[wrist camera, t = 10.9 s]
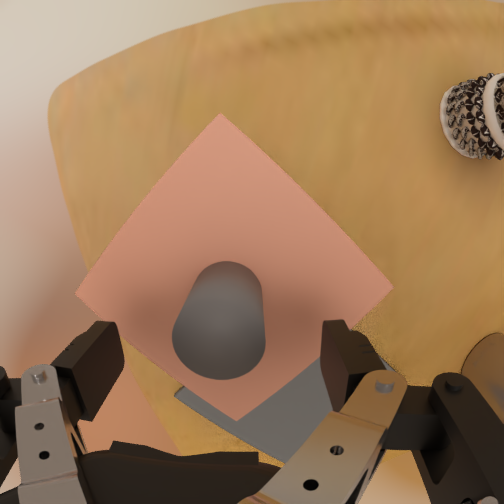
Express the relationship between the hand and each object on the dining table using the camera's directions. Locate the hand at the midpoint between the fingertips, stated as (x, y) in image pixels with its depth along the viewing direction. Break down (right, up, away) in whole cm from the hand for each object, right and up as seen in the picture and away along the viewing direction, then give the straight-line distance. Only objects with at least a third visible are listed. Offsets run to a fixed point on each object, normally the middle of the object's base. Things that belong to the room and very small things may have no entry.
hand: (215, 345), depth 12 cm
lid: (0, +2, +6) cm, 6 cm away
